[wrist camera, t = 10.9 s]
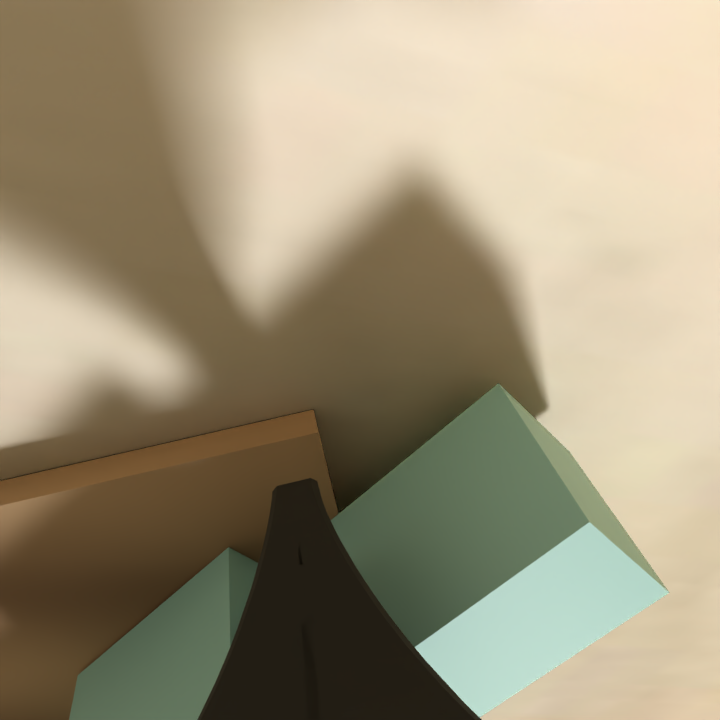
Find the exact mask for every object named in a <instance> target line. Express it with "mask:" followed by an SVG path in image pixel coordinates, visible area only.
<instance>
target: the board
mask: <svg viewBox="0 0 720 720" xmlns="http://www.w3.org/2000/svg"><path fill="white" fill-rule="evenodd" d="M308 478H312V479H314V480H316V481H317V482H318V485H319V489H320V493H321V497H322V501H323V504H324V506H325V509H326V511H327V514H328V516H329V518H330V520H332V519H333V518H334V517H335V516H337V515H338V514H339V513H338V509H337V505H336V501H335V497H334V493H333V488H332V484H331V480H330V476H329V472H328V468H327V463H326V459H325V455H324V451H323V447H322V443H321V439H320V434H319V430H318V426H317V422H316V418H315V414H314V410H309V411H305V412H301V413H296V414H292V415H287V416H283V417H279V418H274V419H270V420H266V421H261V422H257V423H252V424H248V425H244V426H239V427H235V428H231V429H226V430H222V431H217V432H213V433H209V434H204V435H200V436H196V437H191V438H187V439H182V440H178V441H174V442H169V443H165V444H161V445H156V446H152V447H147V448H143V449H139V450H134V451H130V452H126V453H121V454H117V455H112V456H108V457H104V458H99V459H95V460H91V461H86V462H82V463H77V464H73V465H69V466H64V467H60V468H56V469H51V470H47V471H42V472H38V473H34V474H29V475H25V476H21V477H16V478H12V479H7V480H3V481H0V720H69V717H70V712H71V707H72V702H73V697H74V692H75V687H76V682H77V676H78V675H79V674H80V673H81V672H82V671H83V670H85V669H86V668H87V667H88V666H89V665H90V664H92V663H93V662H94V661H95V660H96V659H98V658H99V657H100V656H101V655H102V654H103V653H105V652H106V651H107V650H108V649H109V648H110V647H112V646H113V645H114V644H115V643H116V642H118V641H119V640H120V639H121V638H122V637H123V636H125V635H126V634H127V633H128V632H129V631H131V630H132V629H133V628H134V627H135V626H136V625H138V624H139V623H140V622H141V621H142V620H143V619H145V618H146V617H147V616H148V615H149V614H151V613H152V612H153V611H154V610H155V609H156V608H158V607H159V606H160V605H161V604H162V603H163V602H165V601H166V600H167V599H168V598H169V597H171V596H172V595H173V594H174V593H175V592H176V591H178V590H179V589H180V588H181V587H182V586H183V585H185V584H186V583H187V582H188V581H189V580H191V579H192V578H193V577H194V576H195V575H196V574H198V573H199V572H200V571H201V570H202V569H203V568H205V567H206V566H207V565H208V564H209V563H211V562H212V561H213V560H214V559H215V558H216V557H218V556H219V555H220V554H221V553H222V552H223V551H225V550H226V549H227V548H228V547H229V548H231V549H233V550H235V551H237V552H239V553H240V554H242V555H244V556H246V557H248V558H250V559H252V560H253V561H255V562H257V563H258V562H259V558H260V555H261V551H262V547H263V543H264V539H265V534H266V530H267V525H268V520H269V515H270V508H271V501H272V491H273V490H274V489H275V488H276V486H279V485H283V484H287V483H291V482H295V481H300V480H304V479H308Z"/></svg>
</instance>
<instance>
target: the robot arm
mask: <svg viewBox="0 0 720 720" xmlns="http://www.w3.org/2000/svg"><path fill="white" fill-rule="evenodd" d="M198 720H481V719H480V718H479V717H478V716H477V715H476V714H475V713H474V712H473V711H472V710H471V709H470V708H469V707H468V706H467V705H466V704H465V703H464V702H463V701H462V700H461V698H460V697H459V696H458V695H457V694H456V693H455V692H454V691H453V690H452V689H451V688H450V687H449V685H448V684H447V683H446V682H445V681H444V680H443V679H442V678H441V677H440V676H439V675H438V674H437V672H436V671H435V670H434V669H433V668H432V667H431V666H430V665H429V664H428V663H427V662H426V660H425V659H424V658H423V657H422V656H421V654H420V653H419V652H418V651H417V650H416V648H415V647H414V646H413V645H412V644H411V642H410V641H409V640H408V639H407V638H406V636H405V635H404V634H403V633H402V631H401V630H400V629H399V627H398V626H397V625H396V624H395V622H394V621H393V620H392V618H391V617H390V616H389V614H388V613H387V612H386V610H385V609H384V608H383V606H382V605H381V603H380V602H379V601H378V599H377V598H376V596H375V595H374V593H373V592H372V590H371V589H370V587H369V586H368V585H367V583H366V582H365V580H364V579H363V577H362V575H361V574H360V572H359V571H358V569H357V568H356V566H355V564H354V563H353V561H352V559H351V557H350V556H349V554H348V552H347V551H346V549H345V547H344V545H343V544H342V542H341V540H340V538H339V536H338V534H337V532H336V531H335V529H334V526H333V524H332V522H331V520H330V518H329V516H328V514H327V511H326V509H325V506H324V504H323V501H322V497H321V493H320V489H319V485H318V482H317V481H316V480H314V479H312V478H308V479H304V480H300V481H295V482H291V483H287V484H283V485H279V486H276V488H275V489H274V490H273V491H272V501H271V508H270V515H269V520H268V525H267V530H266V534H265V539H264V543H263V547H262V551H261V555H260V558H259V562H258V566H257V569H256V573H255V577H254V580H253V584H252V587H251V590H250V593H249V596H248V599H247V602H246V605H245V608H244V611H243V613H242V616H241V619H240V622H239V625H238V628H237V631H236V633H235V636H234V638H233V641H232V644H231V646H230V649H229V651H228V654H227V656H226V659H225V661H224V663H223V665H222V668H221V670H220V672H219V675H218V677H217V679H216V682H215V684H214V686H213V688H212V690H211V692H210V694H209V697H208V699H207V701H206V703H205V705H204V707H203V709H202V711H201V713H200V715H199V717H198Z"/></svg>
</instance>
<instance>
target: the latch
mask: <svg viewBox="0 0 720 720" xmlns="http://www.w3.org/2000/svg"><path fill="white" fill-rule="evenodd" d="M331 522H332V524H333V526H334V529H335V531H336V532H337V534H338V536H339V538H340V540H341V542H342V544H343V545H344V547H345V549H346V551H347V552H348V554H349V556H350V557H351V559H352V561H353V563H354V564H355V566H356V568H357V569H358V571H359V572H360V574H361V575H362V577H363V579H364V580H365V582H366V583H367V585H368V586H369V587H370V589H371V590H372V592H373V593H374V595H375V596H376V598H377V599H378V601H379V602H380V603H381V605H382V606H383V608H384V609H385V610H386V612H387V613H388V614H389V616H390V617H391V618H392V620H393V621H394V622H395V624H396V625H397V626H398V627H399V629H400V630H401V631H402V633H403V634H404V635H405V636H406V638H407V639H408V640H409V641H410V642H411V644H412V645H413V646H414V647H415V648H416V650H417V651H418V652H419V653H420V654H421V656H422V657H423V658H424V659H425V660H426V662H427V663H428V664H429V665H430V666H431V667H432V668H433V669H434V670H435V671H436V672H437V674H438V675H439V676H440V677H441V678H442V679H443V680H444V681H445V682H446V683H447V684H448V685H449V687H450V688H451V689H452V690H453V691H454V692H455V693H456V694H457V695H458V696H459V697H460V698H461V700H462V701H463V702H464V703H465V704H466V705H467V706H468V707H469V708H470V709H471V710H472V711H473V712H474V713H475V714H476V715H477V716H478V717H479V718H480V717H481V716H483V715H484V714H486V713H487V712H489V711H490V710H492V709H493V708H495V707H496V706H498V705H499V704H501V703H502V702H504V701H505V700H507V699H508V698H510V697H511V696H513V695H514V694H516V693H518V692H519V691H521V690H522V689H524V688H525V687H527V686H528V685H530V684H531V683H533V682H534V681H536V680H537V679H539V678H540V677H542V676H543V675H545V674H546V673H548V672H549V671H551V670H552V669H554V668H556V667H557V666H559V665H560V664H562V663H563V662H565V661H566V660H568V659H569V658H571V657H572V656H574V655H575V654H577V653H578V652H580V651H581V650H583V649H584V648H586V647H587V646H589V645H590V644H592V643H593V642H595V641H597V640H598V639H600V638H601V637H603V636H604V635H606V634H607V633H609V632H610V631H612V630H613V629H615V628H616V627H618V626H619V625H621V624H622V623H624V622H625V621H627V620H628V619H630V618H631V617H633V616H635V615H636V614H638V613H639V612H641V611H642V610H644V609H645V608H647V607H648V606H650V605H651V604H653V603H654V602H656V601H657V600H659V599H660V598H662V597H663V596H665V595H666V594H668V593H669V592H668V590H667V589H666V587H665V586H664V584H663V583H662V582H661V580H660V579H659V577H658V576H657V575H656V573H655V572H654V570H653V569H652V568H651V566H650V565H649V563H648V562H647V560H646V559H645V558H644V556H643V555H642V553H641V552H640V551H639V549H638V548H637V546H636V545H635V544H634V542H633V541H632V539H631V538H630V536H629V535H628V534H627V532H626V531H625V529H624V528H623V527H622V525H621V524H620V522H619V521H618V520H617V518H616V517H615V515H614V514H613V512H612V511H611V510H610V508H609V507H608V505H607V504H606V503H605V501H604V500H603V498H602V497H601V496H600V494H599V493H598V491H597V490H596V488H595V487H594V486H593V484H592V483H591V481H590V480H589V479H588V477H587V476H586V474H585V473H584V472H583V470H582V469H581V467H580V466H579V464H578V463H577V462H576V460H575V459H574V457H573V456H572V455H571V453H570V452H569V451H568V450H567V449H566V448H565V447H564V446H563V445H562V444H561V443H560V442H559V441H558V440H557V439H556V438H555V437H554V436H553V435H552V434H551V433H550V432H549V431H547V430H546V429H545V428H544V427H543V426H542V425H541V424H540V423H539V422H538V421H537V420H536V419H535V418H534V417H533V416H532V415H531V414H530V413H529V412H528V411H527V410H526V409H525V408H524V407H523V406H522V405H521V404H520V403H519V402H517V401H516V400H515V399H514V398H513V397H512V396H511V395H510V394H509V393H508V392H507V391H506V390H505V389H504V388H503V387H502V386H501V385H500V384H499V383H498V384H497V385H496V386H494V387H493V388H492V389H491V390H489V391H488V392H487V393H486V394H485V395H483V396H482V397H481V398H480V399H478V400H477V401H476V402H475V403H474V404H472V405H471V406H470V407H469V408H467V409H466V410H465V411H464V412H463V413H461V414H460V415H459V416H458V417H456V418H455V419H454V420H453V421H452V422H450V423H449V424H448V425H447V426H445V427H444V428H443V429H442V430H441V431H439V432H438V433H437V434H436V435H434V436H433V437H432V438H431V439H430V440H428V441H427V442H426V443H425V444H423V445H422V446H421V447H420V448H419V449H417V450H416V451H415V452H414V453H412V454H411V455H410V456H409V457H408V458H406V459H405V460H404V461H403V462H401V463H400V464H399V465H398V466H396V467H395V468H394V469H393V470H392V471H390V472H389V473H388V474H387V475H385V476H384V477H383V478H382V479H381V480H379V481H378V482H377V483H376V484H374V485H373V486H372V487H371V488H370V489H368V490H367V491H366V492H365V493H363V494H362V495H361V496H360V497H359V498H357V499H356V500H355V501H354V502H352V503H351V504H350V505H349V506H348V507H346V508H345V509H344V510H343V511H341V512H340V513H339V514H338V515H337V516H335V517H334V518H333V519H332V520H331ZM257 566H258V563H257V562H255V561H253V560H252V559H250V558H248V557H246V556H244V555H242V554H240V553H239V552H237V551H235V550H233V549H231V548H229V547H228V548H227V549H226V550H225V551H223V552H222V553H221V554H220V555H219V556H218V557H216V558H215V559H214V560H213V561H212V562H211V563H209V564H208V565H207V566H206V567H205V568H203V569H202V570H201V571H200V572H199V573H198V574H196V575H195V576H194V577H193V578H192V579H191V580H189V581H188V582H187V583H186V584H185V585H183V586H182V587H181V588H180V589H179V590H178V591H176V592H175V593H174V594H173V595H172V596H171V597H169V598H168V599H167V600H166V601H165V602H163V603H162V604H161V605H160V606H159V607H158V608H156V609H155V610H154V611H153V612H152V613H151V614H149V615H148V616H147V617H146V618H145V619H143V620H142V621H141V622H140V623H139V624H138V625H136V626H135V627H134V628H133V629H132V630H131V631H129V632H128V633H127V634H126V635H125V636H123V637H122V638H121V639H120V640H119V641H118V642H116V643H115V644H114V645H113V646H112V647H110V648H109V649H108V650H107V651H106V652H105V653H103V654H102V655H101V656H100V657H99V658H98V659H96V660H95V661H94V662H93V663H92V664H90V665H89V666H88V667H87V668H86V669H85V670H83V671H82V672H81V673H80V674H79V675H78V676H77V682H76V687H75V692H74V697H73V702H72V707H71V712H70V717H69V720H198V717H199V715H200V713H201V711H202V709H203V707H204V705H205V703H206V701H207V699H208V697H209V694H210V692H211V690H212V688H213V686H214V684H215V682H216V679H217V677H218V675H219V672H220V670H221V668H222V665H223V663H224V661H225V659H226V656H227V654H228V651H229V649H230V646H231V644H232V641H233V638H234V636H235V633H236V631H237V628H238V625H239V622H240V619H241V616H242V613H243V611H244V608H245V605H246V602H247V599H248V596H249V593H250V590H251V587H252V584H253V580H254V577H255V573H256V569H257Z"/></svg>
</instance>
